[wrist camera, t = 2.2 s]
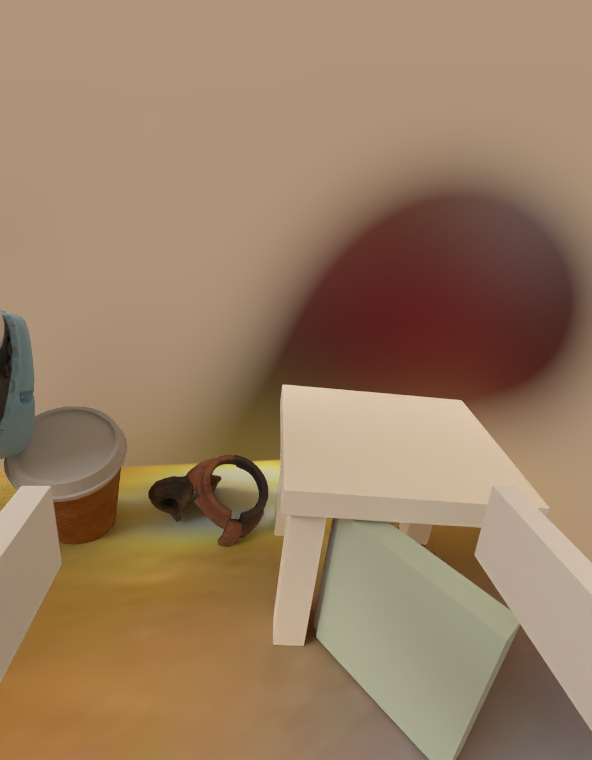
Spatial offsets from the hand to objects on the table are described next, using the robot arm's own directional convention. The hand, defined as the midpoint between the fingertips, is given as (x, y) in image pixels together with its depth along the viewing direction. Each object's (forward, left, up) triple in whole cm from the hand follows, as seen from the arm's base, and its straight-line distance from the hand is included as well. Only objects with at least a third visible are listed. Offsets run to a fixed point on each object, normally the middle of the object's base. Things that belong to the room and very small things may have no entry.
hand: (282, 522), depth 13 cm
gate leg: (+10, +10, -24) cm, 28 cm away
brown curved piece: (-5, +27, -25) cm, 37 cm away
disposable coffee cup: (-18, +26, -25) cm, 40 cm away
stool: (+10, +21, -25) cm, 34 cm away
